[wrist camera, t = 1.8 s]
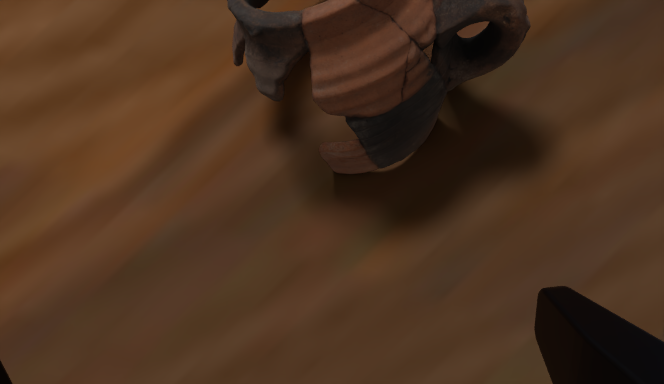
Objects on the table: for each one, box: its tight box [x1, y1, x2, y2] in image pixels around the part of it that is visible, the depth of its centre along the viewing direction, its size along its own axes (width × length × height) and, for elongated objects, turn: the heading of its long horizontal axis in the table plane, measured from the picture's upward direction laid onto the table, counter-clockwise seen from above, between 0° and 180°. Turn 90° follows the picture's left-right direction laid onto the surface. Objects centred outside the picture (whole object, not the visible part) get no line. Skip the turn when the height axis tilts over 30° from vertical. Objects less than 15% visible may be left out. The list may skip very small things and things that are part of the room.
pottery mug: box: [227, 0, 530, 174], centre depth 23 cm, size 12×9×8 cm
